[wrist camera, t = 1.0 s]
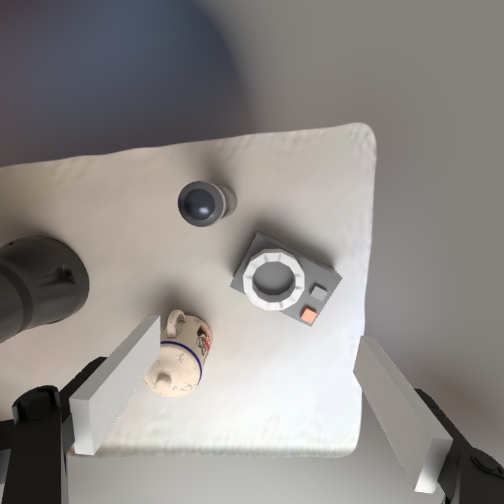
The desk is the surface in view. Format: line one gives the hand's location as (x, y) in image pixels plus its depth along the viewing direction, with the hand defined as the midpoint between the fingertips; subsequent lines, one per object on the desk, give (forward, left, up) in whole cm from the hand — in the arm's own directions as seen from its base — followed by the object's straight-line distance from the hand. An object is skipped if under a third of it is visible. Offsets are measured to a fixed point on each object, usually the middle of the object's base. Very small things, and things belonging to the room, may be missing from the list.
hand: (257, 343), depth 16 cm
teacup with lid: (-6, -18, -24) cm, 31 cm away
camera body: (+4, -1, -24) cm, 24 cm away
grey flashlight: (-10, +5, -24) cm, 26 cm away
